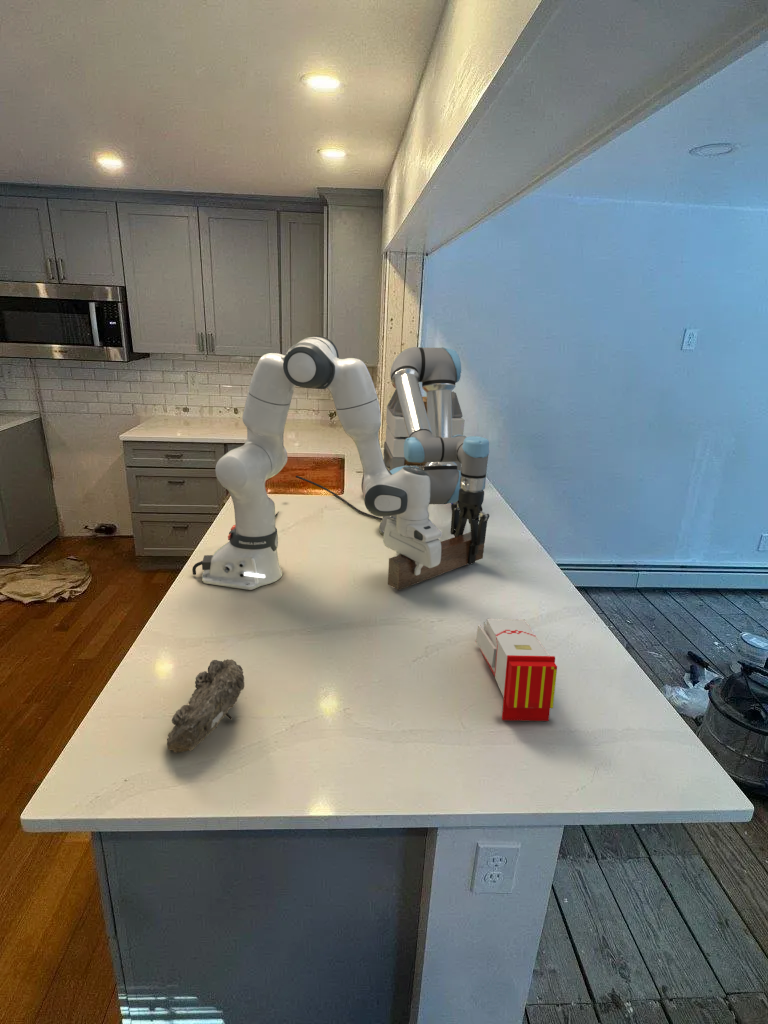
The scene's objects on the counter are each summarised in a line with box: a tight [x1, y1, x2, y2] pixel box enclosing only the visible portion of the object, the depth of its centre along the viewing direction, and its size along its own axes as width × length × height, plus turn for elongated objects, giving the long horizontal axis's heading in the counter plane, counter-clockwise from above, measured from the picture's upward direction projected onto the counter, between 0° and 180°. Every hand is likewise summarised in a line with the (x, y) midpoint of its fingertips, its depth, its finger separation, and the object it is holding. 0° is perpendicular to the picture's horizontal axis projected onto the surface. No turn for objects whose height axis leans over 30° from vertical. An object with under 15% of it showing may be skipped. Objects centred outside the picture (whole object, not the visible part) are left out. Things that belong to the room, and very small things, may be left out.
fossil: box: [166, 658, 245, 754], centre depth 106 cm, size 22×10×15 cm
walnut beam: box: [387, 531, 485, 591], centre depth 168 cm, size 4×36×8 cm, turn 131°
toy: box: [475, 618, 558, 722], centre depth 122 cm, size 12×13×30 cm
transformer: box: [383, 389, 465, 471], centre depth 268 cm, size 34×33×41 cm
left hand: (409, 570), depth 161 cm, fingers closed on walnut beam, 4 cm apart
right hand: (465, 560), depth 177 cm, fingers closed on walnut beam, 4 cm apart
